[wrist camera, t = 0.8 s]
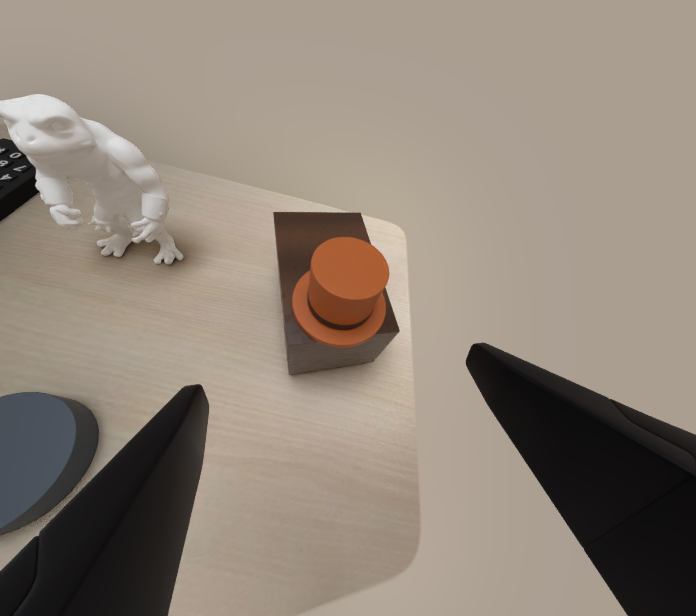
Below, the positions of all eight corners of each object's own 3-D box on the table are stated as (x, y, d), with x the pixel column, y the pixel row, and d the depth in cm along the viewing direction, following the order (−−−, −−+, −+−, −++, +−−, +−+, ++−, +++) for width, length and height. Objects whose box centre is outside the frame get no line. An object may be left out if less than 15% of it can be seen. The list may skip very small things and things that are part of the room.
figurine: (203, 237, 32) (144, 97, 20) (183, 278, 29) (96, 141, 16) (111, 221, 31) (-17, 60, 18) (79, 263, 28) (-106, 100, 15)
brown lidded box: (372, 364, 28) (402, 330, 20) (289, 377, 26) (286, 345, 18) (347, 265, 34) (362, 212, 27) (278, 269, 32) (273, 211, 24)
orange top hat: (395, 341, 20) (422, 310, 16) (297, 354, 18) (299, 324, 14) (371, 265, 23) (388, 224, 19) (287, 270, 21) (286, 224, 17)
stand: (81, 514, 18) (53, 522, 16) (-94, 558, 16) (-155, 574, 14) (109, 389, 22) (90, 382, 20) (-27, 409, 20) (-65, 404, 18)
